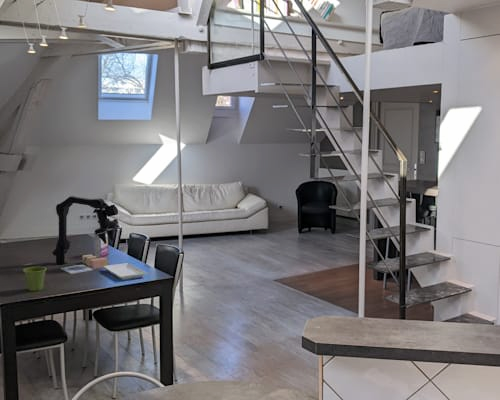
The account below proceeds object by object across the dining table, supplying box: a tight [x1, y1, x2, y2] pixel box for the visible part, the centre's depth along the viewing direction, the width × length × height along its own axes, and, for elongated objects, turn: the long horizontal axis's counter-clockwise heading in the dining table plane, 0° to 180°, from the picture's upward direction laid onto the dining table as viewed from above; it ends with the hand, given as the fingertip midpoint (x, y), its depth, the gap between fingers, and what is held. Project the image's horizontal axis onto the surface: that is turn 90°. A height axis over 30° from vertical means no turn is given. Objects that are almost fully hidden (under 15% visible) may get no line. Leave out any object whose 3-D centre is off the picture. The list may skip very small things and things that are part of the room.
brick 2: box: [89, 256, 109, 270], centre depth 349 cm, size 10×6×5 cm, turn 129°
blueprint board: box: [60, 264, 94, 275], centre depth 342 cm, size 16×14×1 cm
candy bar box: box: [93, 233, 109, 258], centre depth 379 cm, size 11×5×16 cm, turn 168°
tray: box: [102, 262, 148, 281], centre depth 330 cm, size 17×32×4 cm, turn 33°
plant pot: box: [22, 266, 48, 292], centre depth 298 cm, size 12×12×11 cm
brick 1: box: [81, 254, 97, 267], centre depth 358 cm, size 10×6×5 cm, turn 38°
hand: (109, 242), depth 350 cm, fingers open, 9 cm apart
